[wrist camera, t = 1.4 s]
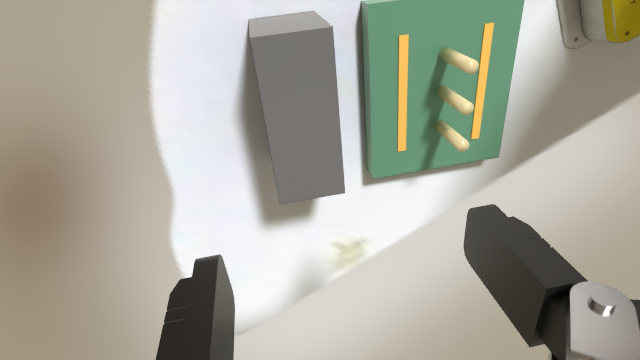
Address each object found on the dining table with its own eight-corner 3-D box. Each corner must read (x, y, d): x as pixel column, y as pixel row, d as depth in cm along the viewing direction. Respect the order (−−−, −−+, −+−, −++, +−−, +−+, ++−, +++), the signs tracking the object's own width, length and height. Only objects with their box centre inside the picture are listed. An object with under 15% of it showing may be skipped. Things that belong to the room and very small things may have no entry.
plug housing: (248, 19, 23) (249, 37, 18) (313, 10, 24) (332, 26, 19) (273, 158, 28) (280, 204, 23) (327, 150, 29) (344, 192, 24)
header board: (361, 1, 24) (386, 11, 20) (512, -18, 25) (568, -13, 20) (367, 169, 30) (387, 204, 26) (488, 148, 31) (526, 180, 27)
